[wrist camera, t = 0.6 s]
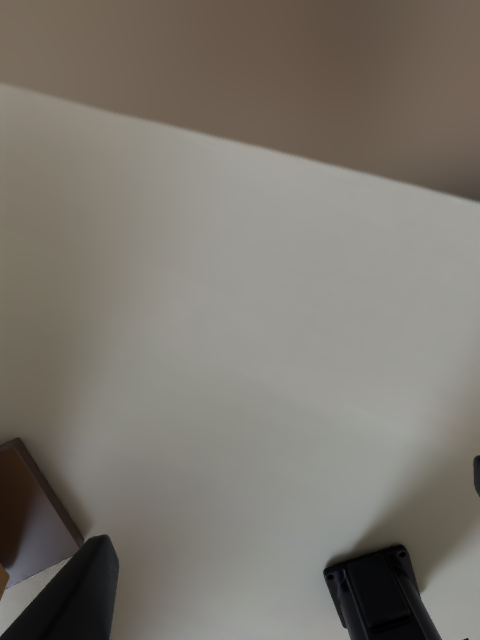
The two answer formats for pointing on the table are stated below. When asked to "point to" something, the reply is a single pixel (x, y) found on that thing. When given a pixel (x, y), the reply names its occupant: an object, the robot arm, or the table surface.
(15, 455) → the ramp
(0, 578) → the carton
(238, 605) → the table surface
